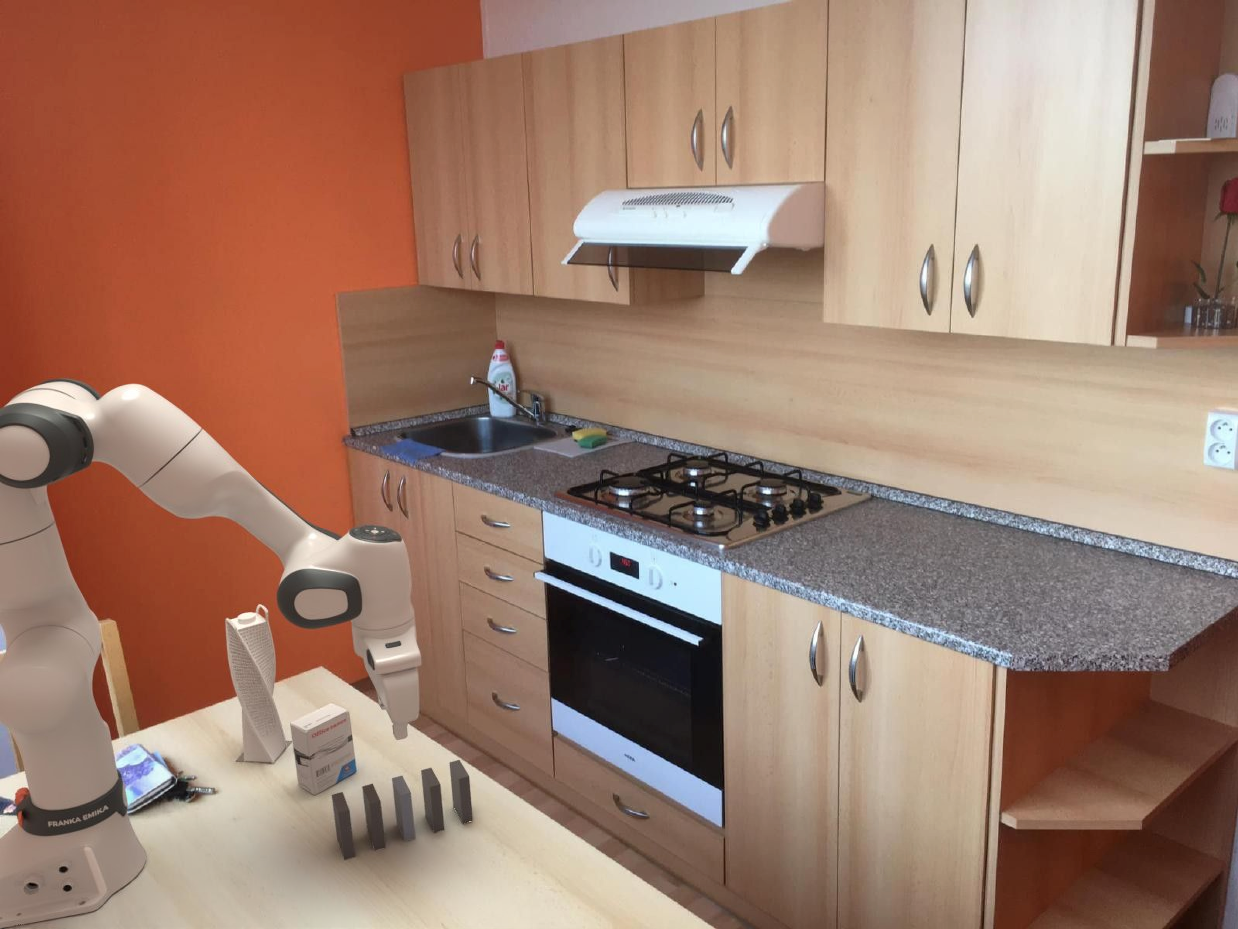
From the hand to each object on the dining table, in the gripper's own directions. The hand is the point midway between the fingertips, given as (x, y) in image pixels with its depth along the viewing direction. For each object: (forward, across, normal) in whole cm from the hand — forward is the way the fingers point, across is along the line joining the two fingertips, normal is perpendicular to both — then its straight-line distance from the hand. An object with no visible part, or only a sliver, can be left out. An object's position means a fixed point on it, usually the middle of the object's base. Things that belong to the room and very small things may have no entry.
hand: (393, 721), depth 152 cm
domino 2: (+19, 0, -4) cm, 19 cm away
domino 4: (+19, 0, +5) cm, 19 cm away
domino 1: (+19, 0, -9) cm, 21 cm away
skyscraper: (+19, -33, -16) cm, 41 cm away
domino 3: (+19, 0, 0) cm, 19 cm away
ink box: (+19, -20, -8) cm, 29 cm away
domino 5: (+19, 0, +9) cm, 21 cm away
